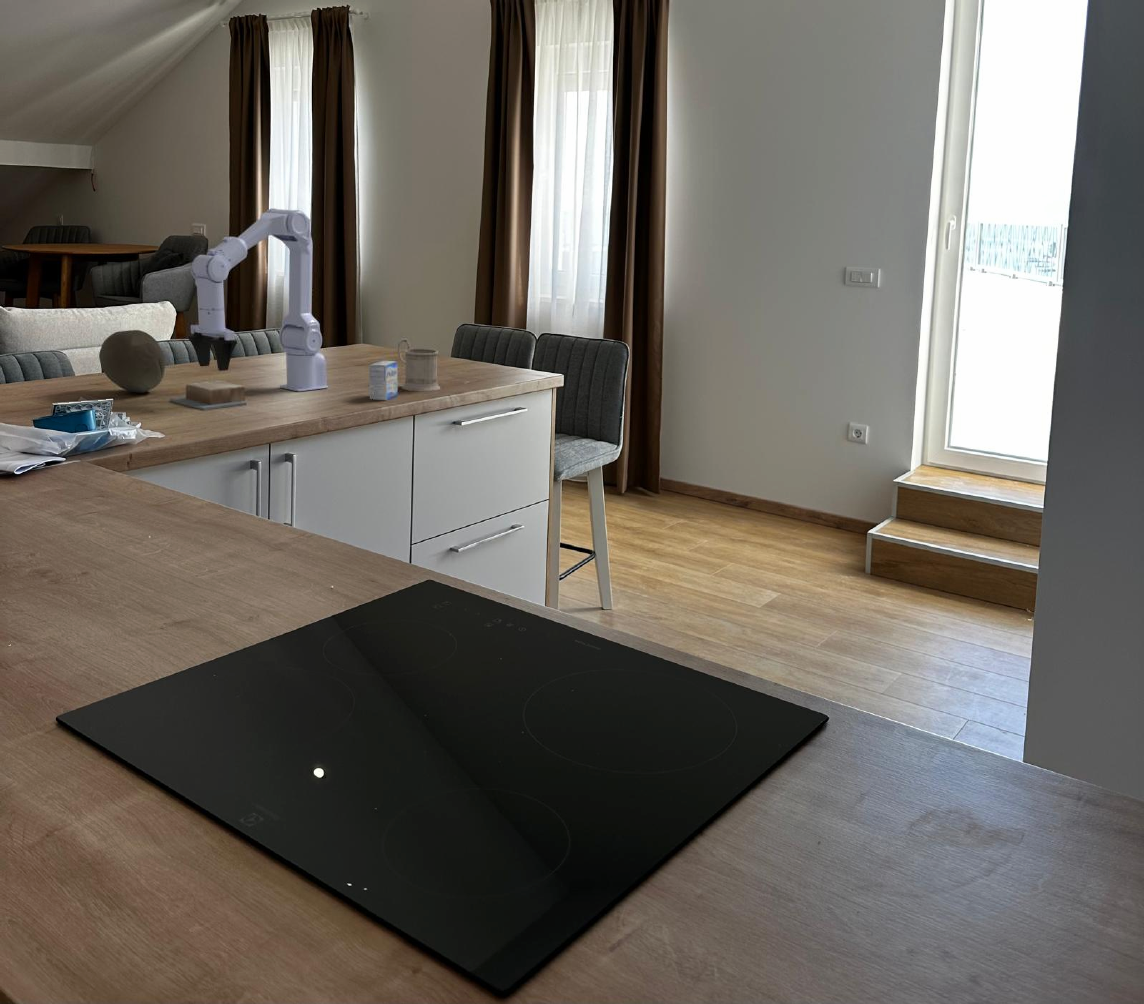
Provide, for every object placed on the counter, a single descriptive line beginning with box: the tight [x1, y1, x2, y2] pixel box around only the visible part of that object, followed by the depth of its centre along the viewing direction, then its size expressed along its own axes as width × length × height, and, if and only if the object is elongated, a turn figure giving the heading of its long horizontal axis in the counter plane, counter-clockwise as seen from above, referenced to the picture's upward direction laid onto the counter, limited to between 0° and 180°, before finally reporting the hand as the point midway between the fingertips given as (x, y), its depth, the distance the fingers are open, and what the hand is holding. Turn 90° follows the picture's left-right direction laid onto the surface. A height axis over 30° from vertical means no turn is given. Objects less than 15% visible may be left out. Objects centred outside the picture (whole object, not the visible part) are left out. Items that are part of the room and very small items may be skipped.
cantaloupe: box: [98, 329, 166, 394], centre depth 263 cm, size 14×14×15 cm
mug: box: [397, 338, 441, 392], centre depth 289 cm, size 14×10×12 cm
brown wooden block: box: [185, 379, 246, 405], centre depth 258 cm, size 4×10×9 cm
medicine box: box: [368, 360, 398, 402], centre depth 272 cm, size 8×4×9 cm, turn 168°
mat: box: [169, 396, 247, 411], centre depth 257 cm, size 11×14×1 cm
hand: (213, 368), depth 257 cm, fingers open, 7 cm apart
